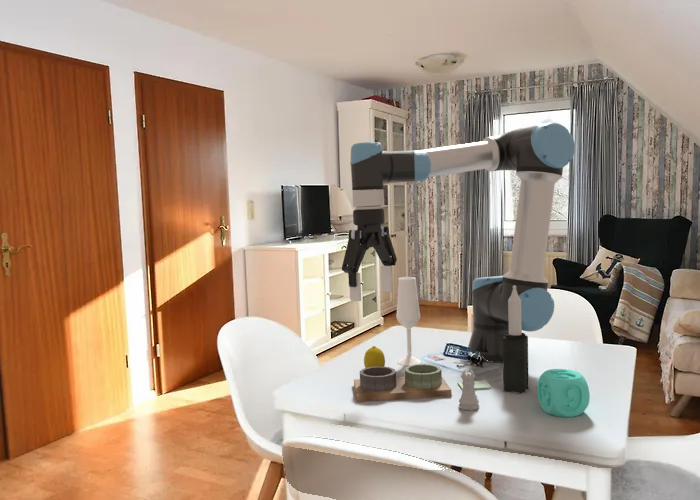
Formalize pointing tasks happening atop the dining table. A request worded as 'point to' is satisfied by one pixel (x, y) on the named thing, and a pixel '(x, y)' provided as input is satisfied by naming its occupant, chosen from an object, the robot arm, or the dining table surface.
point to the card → (477, 385)
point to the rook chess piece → (468, 392)
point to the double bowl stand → (401, 383)
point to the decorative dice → (563, 392)
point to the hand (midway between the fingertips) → (371, 296)
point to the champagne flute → (408, 313)
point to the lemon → (374, 358)
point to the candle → (515, 349)
